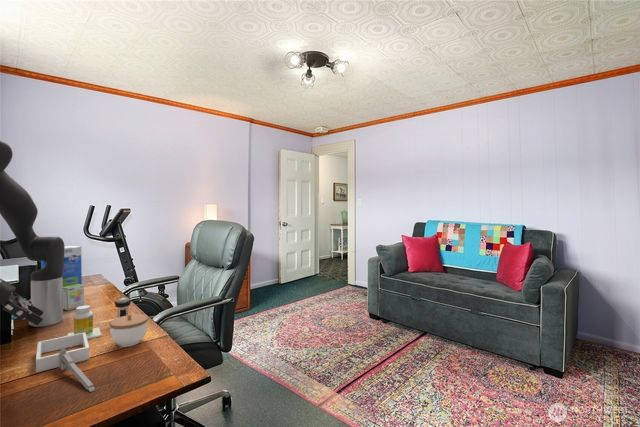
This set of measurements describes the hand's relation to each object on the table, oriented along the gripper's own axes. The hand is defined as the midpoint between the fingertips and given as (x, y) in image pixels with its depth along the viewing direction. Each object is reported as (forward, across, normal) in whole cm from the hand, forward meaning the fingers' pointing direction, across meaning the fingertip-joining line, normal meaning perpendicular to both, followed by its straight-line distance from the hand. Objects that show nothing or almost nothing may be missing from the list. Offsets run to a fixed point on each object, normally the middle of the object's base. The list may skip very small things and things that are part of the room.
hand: (40, 318), depth 101 cm
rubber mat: (+14, 0, -2) cm, 14 cm away
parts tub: (+10, -14, +2) cm, 18 cm away
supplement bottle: (+14, 0, -2) cm, 14 cm away
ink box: (+13, +40, -1) cm, 42 cm away
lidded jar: (+22, -17, -9) cm, 29 cm away
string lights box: (+11, +53, +2) cm, 54 cm away
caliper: (+12, -32, +1) cm, 34 cm away
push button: (+22, +3, -10) cm, 24 cm away
